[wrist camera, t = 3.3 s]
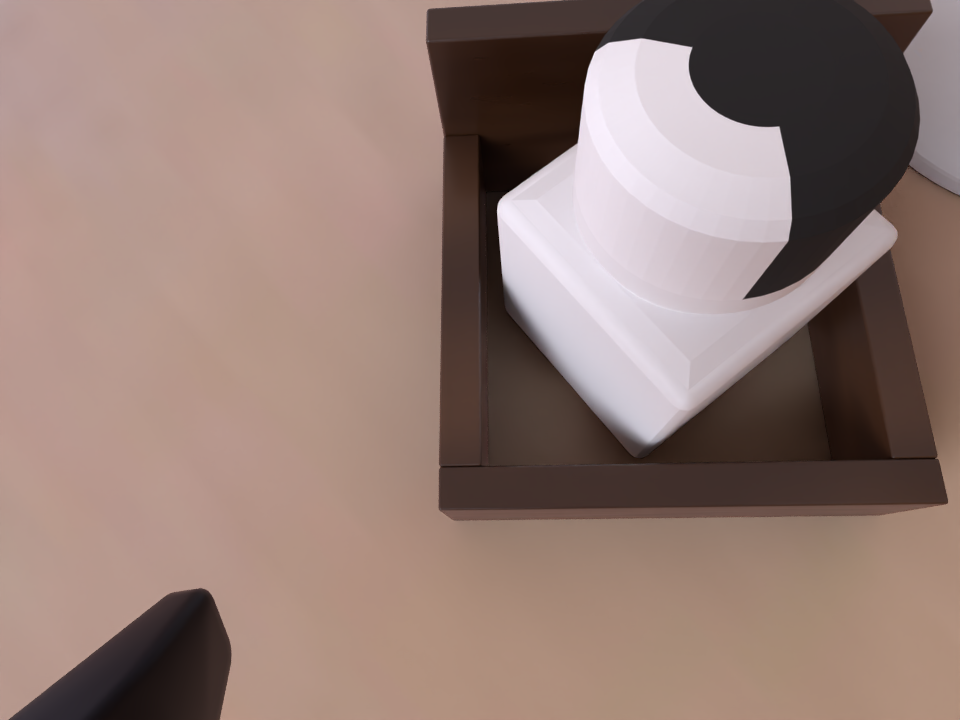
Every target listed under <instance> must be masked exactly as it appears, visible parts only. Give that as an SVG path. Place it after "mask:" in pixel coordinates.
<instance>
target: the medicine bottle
mask: <svg viewBox="0 0 960 720" xmlns="http://www.w3.org/2000/svg"><path fill="white" fill-rule="evenodd" d="M919 127H920V109H919V99H918V95H917V91H916V87H915V83H914V79H913V76H912V74H911V71H910V68H909V66H908V64H907V61H906V59H905V57H904V54H903V52H902V51H901V49H900V48H899V46H898V44H897V43H896V41H895V40H894V38H893V37H892V36H891V34H890V33H889V32H888V31H887V30H886V28H885V27H884V26H883V25H882V24H881V23H880V22H879V21H878V20H877V19H876V18H875V17H874V16H873V15H872V14H870V13H869V12H868V11H867V10H866V9H865V8H863V7H862V6H860V5H859V4H858V3H856V2H855V1H853V0H643V1H641V2H640V3H638V4H637V5H635V6H634V7H632V8H631V9H629V10H628V11H627V12H626V13H625V14H624V15H623V16H622V17H621V18H620V19H618V20H617V21H616V22H615V23H614V25H613V26H612V27H611V28H610V30H609V31H608V32H607V33H606V34H605V36H604V37H603V39H602V40H601V42H600V44H599V46H598V47H597V49H596V51H595V52H594V55H593V58H592V60H591V63H590V65H589V68H588V72H587V77H586V82H585V87H584V95H583V104H582V112H581V121H580V129H579V138H578V143H577V144H576V145H574V146H573V147H572V148H570V149H569V150H567V151H566V152H565V153H563V154H562V155H560V156H559V157H558V158H556V159H555V160H553V161H552V162H551V163H549V164H548V165H546V166H545V167H544V168H542V169H541V170H539V171H538V172H537V173H535V174H534V175H532V176H531V177H530V178H528V179H527V180H525V181H524V182H523V183H521V184H520V185H518V186H517V187H516V188H514V189H513V190H511V191H510V192H509V193H507V194H506V195H504V196H503V197H502V198H501V200H500V201H499V203H498V207H497V217H498V229H499V242H500V254H501V266H502V278H503V291H504V303H505V309H506V311H507V313H508V314H509V315H510V316H511V317H512V318H513V319H514V321H515V322H516V323H517V324H518V325H519V326H520V328H521V329H522V330H523V331H524V332H525V333H526V334H527V336H528V337H529V338H530V339H531V340H532V341H533V343H534V344H535V345H536V346H537V347H538V348H539V349H540V351H541V352H542V353H543V354H544V355H545V356H546V358H547V359H548V360H549V361H550V362H551V363H552V364H553V366H554V367H555V368H556V369H557V370H558V371H559V373H560V374H561V375H562V376H563V377H564V378H565V379H566V381H567V382H568V383H569V384H570V385H571V386H572V388H573V389H574V390H575V391H576V392H577V393H578V394H579V396H580V397H581V398H582V399H583V400H584V401H585V403H586V404H587V405H588V406H589V407H590V408H591V409H592V411H593V412H594V413H595V414H596V415H597V416H598V418H599V419H600V420H601V421H602V422H603V423H604V424H605V426H606V427H607V428H608V429H609V430H610V431H611V433H612V434H613V435H614V436H615V437H616V438H617V440H618V441H619V442H620V443H621V444H622V445H623V446H624V448H625V449H626V450H627V451H628V452H629V453H630V454H631V455H632V456H634V457H635V458H643V457H645V456H647V455H648V454H650V453H651V452H652V451H653V450H655V449H656V448H657V447H658V446H659V445H661V444H662V443H663V442H664V441H666V440H667V439H668V438H669V437H670V436H672V435H673V434H674V433H675V432H676V431H678V430H679V429H680V428H681V427H683V426H684V425H685V424H686V423H687V422H689V421H690V420H691V419H692V418H694V417H695V416H696V415H697V414H698V413H700V412H701V411H702V410H703V409H705V408H706V407H707V406H708V405H709V404H711V403H712V402H713V401H714V400H716V399H717V398H718V397H719V396H720V395H722V394H723V393H724V392H725V391H727V390H728V389H729V388H730V387H731V386H733V385H734V384H735V383H736V382H738V381H739V380H740V379H741V378H742V377H744V376H745V375H746V374H747V373H749V372H750V371H751V370H752V369H753V368H755V367H756V366H757V365H758V364H759V363H761V362H762V361H763V360H764V359H766V358H767V357H768V356H769V355H770V354H772V353H773V352H774V351H775V350H777V349H778V348H779V347H780V346H781V345H783V344H784V343H785V342H786V341H788V340H789V339H790V338H791V337H792V336H793V335H794V334H796V333H797V332H798V331H799V330H800V329H801V328H802V327H803V326H805V325H806V324H807V323H808V322H809V321H810V320H811V319H812V318H813V317H815V316H816V315H817V314H818V313H819V312H820V311H821V310H822V309H823V308H825V307H826V306H827V305H828V304H829V303H830V302H831V301H832V300H834V299H835V298H836V297H837V296H838V295H839V294H840V293H841V292H842V291H844V290H845V289H846V288H847V287H848V286H849V285H850V284H851V283H852V282H854V281H855V280H856V279H857V278H858V277H859V276H860V275H861V274H862V273H864V272H865V271H866V270H867V269H868V268H869V267H870V266H871V265H873V264H874V263H875V262H876V261H877V260H878V259H879V258H880V257H881V256H883V255H884V254H885V253H886V252H887V251H888V250H889V249H890V248H891V247H892V246H893V245H894V243H895V242H896V239H897V237H898V236H897V230H896V229H895V227H894V226H893V225H892V224H891V223H890V222H889V221H888V220H886V219H885V218H884V217H883V216H882V215H881V214H879V213H878V212H877V211H876V210H875V208H876V207H877V206H878V205H879V204H880V203H881V202H882V200H883V199H884V198H885V197H886V196H887V195H888V194H889V193H890V192H891V191H892V190H893V188H894V187H895V186H896V184H897V183H898V182H899V180H900V179H901V178H902V176H903V175H904V173H905V171H906V169H907V167H908V165H909V163H910V161H911V159H912V157H913V154H914V151H915V148H916V144H917V141H918V136H919Z"/></svg>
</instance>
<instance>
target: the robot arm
mask: <svg viewBox="0 0 960 720" xmlns="http://www.w3.org/2000/svg"><path fill="white" fill-rule="evenodd" d="M230 665H231V645H230V641H229V638H228V635H227V632H226V630H225V627H224V625H223V622H222V619H221V617H220V614H219V612H218V609H217V607H216V604H215V601H214V599H213V597H212V595H211V594H210V593H209V591H207V590H205V589H202V588H199V589H192V590H186V591H179V592H174V593H170V594H168V595H167V596H165V597H164V598H162V599H161V600H160V601H159V602H157V603H156V604H155V605H154V606H152V607H151V608H150V609H149V610H147V611H146V612H145V613H143V614H142V615H141V616H140V617H138V618H137V619H136V620H135V621H133V622H132V623H131V624H129V625H128V626H127V627H126V628H124V629H123V630H122V631H121V632H119V633H118V634H117V635H115V636H114V637H113V638H112V639H110V640H109V641H108V642H107V643H105V644H104V645H103V646H102V647H100V648H99V649H98V650H96V651H95V652H94V653H93V654H91V655H90V656H89V657H88V658H86V659H85V660H84V661H82V662H81V663H80V664H79V665H77V666H76V667H75V668H74V669H72V670H71V671H70V672H69V673H67V674H66V675H65V676H63V677H62V678H61V679H60V680H58V681H57V682H56V683H55V684H53V685H52V686H51V687H49V688H48V689H47V690H46V691H44V692H43V693H42V694H41V695H39V696H38V697H37V698H35V699H34V700H33V701H32V702H30V703H29V704H28V705H27V706H25V707H24V708H23V709H22V710H20V711H19V712H18V713H16V714H15V715H14V716H13V717H11V718H10V719H9V720H220V715H221V710H222V705H223V700H224V695H225V690H226V685H227V680H228V675H229V670H230Z"/></svg>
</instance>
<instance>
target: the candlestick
mask: <svg viewBox="0 0 960 720" xmlns="http://www.w3.org/2000/svg"><path fill="white" fill-rule="evenodd" d="M930 1H931V4H932V8H933V12H932V14H931V16H930V17H929V18H928V20H927V21H926V23H925V24H924V25H923V27H922V28H921V30H920V31H919V32H918V34H917V35H916V36H915V38H914V39H913V41H912V42H911V43H910V45H909V46H908V48H907V49H906V50H905V52H904V53H903V54H904V57H905V59H906V61H907V64H908V66H909V68H910V71H911V74H912V76H913V79H914V83H915V87H916V91H917V95H918V99H919V109H920V127H919V136H918V141H917V144H916V148H915V151H914V154H913V157H912V159H911V161H910V163H909V165H910V166H911V167H913V168H914V169H915V170H917V171H918V172H919V173H921V174H922V175H924V176H925V177H927V178H928V179H930V180H931V181H933V182H935V183H936V184H938V185H940V186H942V187H944V188H945V189H947V190H949V191H951V192H953V193H955V194H958V195H960V0H930Z"/></svg>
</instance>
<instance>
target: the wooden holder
mask: <svg viewBox="0 0 960 720" xmlns="http://www.w3.org/2000/svg"><path fill="white" fill-rule="evenodd" d="M641 1H643V0H562V1H546V2H530V3H514V4H498V5H482V6H466V7H450V8H434V9H428V11H427V25H426V44H427V49H428V54H429V60H430V65H431V70H432V75H433V81H434V86H435V91H436V96H437V102H438V107H439V112H440V117H441V123H442V128H443V133H444V152H443V225H442V298H441V371H440V444H439V465H440V467H441V468H440V469H439V510H440V511H442V512H443V513H444V514H446V515H447V516H448V517H450V518H451V519H452V520H527V519H612V518H697V517H782V516H867V515H884V514H890V513H896V512H902V511H908V510H914V509H920V508H926V507H932V506H938V505H944V504H947V503H948V498H947V494H946V490H945V485H944V481H943V477H942V472H941V468H940V464H939V460H938V459H935V458H937V451H936V447H935V442H934V438H933V434H932V429H931V425H930V421H929V416H928V412H927V407H926V403H925V399H924V394H923V390H922V386H921V381H920V377H919V373H918V368H917V364H916V360H915V355H914V351H913V346H912V342H911V338H910V333H909V329H908V325H907V320H906V316H905V312H904V307H903V303H902V299H901V294H900V290H899V285H898V281H897V277H896V272H895V268H894V264H893V259H892V255H891V251H890V249H889V250H888V251H887V252H886V253H885V254H884V255H883V256H881V257H880V258H879V259H878V260H877V261H876V262H875V263H874V264H873V265H871V266H870V267H869V268H868V269H867V270H866V271H865V272H864V273H862V274H861V275H860V276H859V277H858V278H857V279H856V280H855V281H854V282H852V283H851V284H850V285H849V286H848V287H847V288H846V289H845V290H844V291H842V292H841V293H840V294H839V295H838V296H837V297H836V298H835V299H834V300H832V301H831V302H830V303H829V304H828V305H827V306H826V307H825V308H823V309H822V310H821V311H820V312H819V313H818V314H817V315H816V316H815V317H813V318H812V319H811V320H810V321H809V322H808V327H809V333H810V339H811V344H812V350H813V356H814V361H815V367H816V372H817V378H818V384H819V389H820V395H821V401H822V406H823V412H824V418H825V423H826V429H827V434H828V440H829V446H830V451H831V457H832V460H821V461H762V462H703V463H645V464H586V465H527V466H488V370H487V272H486V191H509V190H513V189H514V188H516V187H517V186H518V185H520V184H521V183H523V182H524V181H525V180H527V179H528V178H530V177H531V176H532V175H534V174H535V173H537V172H538V171H539V170H541V169H542V168H544V167H545V166H546V165H548V164H549V163H551V162H552V161H553V160H555V159H556V158H558V157H559V156H560V155H562V154H563V153H565V152H566V151H567V150H569V149H570V148H572V147H573V146H574V145H576V144H577V143H578V138H579V129H580V121H581V112H582V104H583V95H584V87H585V82H586V77H587V72H588V68H589V65H590V63H591V60H592V58H593V55H594V52H595V51H596V49H597V47H598V46H599V44H600V42H601V40H602V39H603V37H604V36H605V34H606V33H607V32H608V31H609V30H610V28H611V27H612V26H613V25H614V23H615V22H616V21H617V20H618V19H620V18H621V17H622V16H623V15H624V14H625V13H626V12H627V11H628V10H629V9H631V8H632V7H634V6H635V5H637V4H638V3H640V2H641ZM853 1H855V2H856V3H858V4H859V5H860V6H862V7H863V8H865V9H866V10H867V11H868V12H869V13H870V14H872V15H873V16H874V17H875V18H876V19H877V20H878V21H879V22H880V23H881V24H882V25H883V26H884V27H885V28H886V30H887V31H888V32H889V33H890V34H891V36H892V37H893V38H894V40H895V41H896V43H897V44H898V46H899V48H900V49H901V51H902V52H903V53H904V52H905V50H906V49H907V48H908V46H909V45H910V43H911V42H912V41H913V39H914V38H915V36H916V35H917V34H918V32H919V31H920V30H921V28H922V27H923V25H924V24H925V23H926V21H927V20H928V18H929V17H930V16H931V14H932V12H933V8H932V4H931V1H930V0H853ZM875 210H876V211H877V212H878V213H879V214H881V215H882V211H881V207H880V204H879V205H878V206H877V207H876V208H875Z"/></svg>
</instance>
